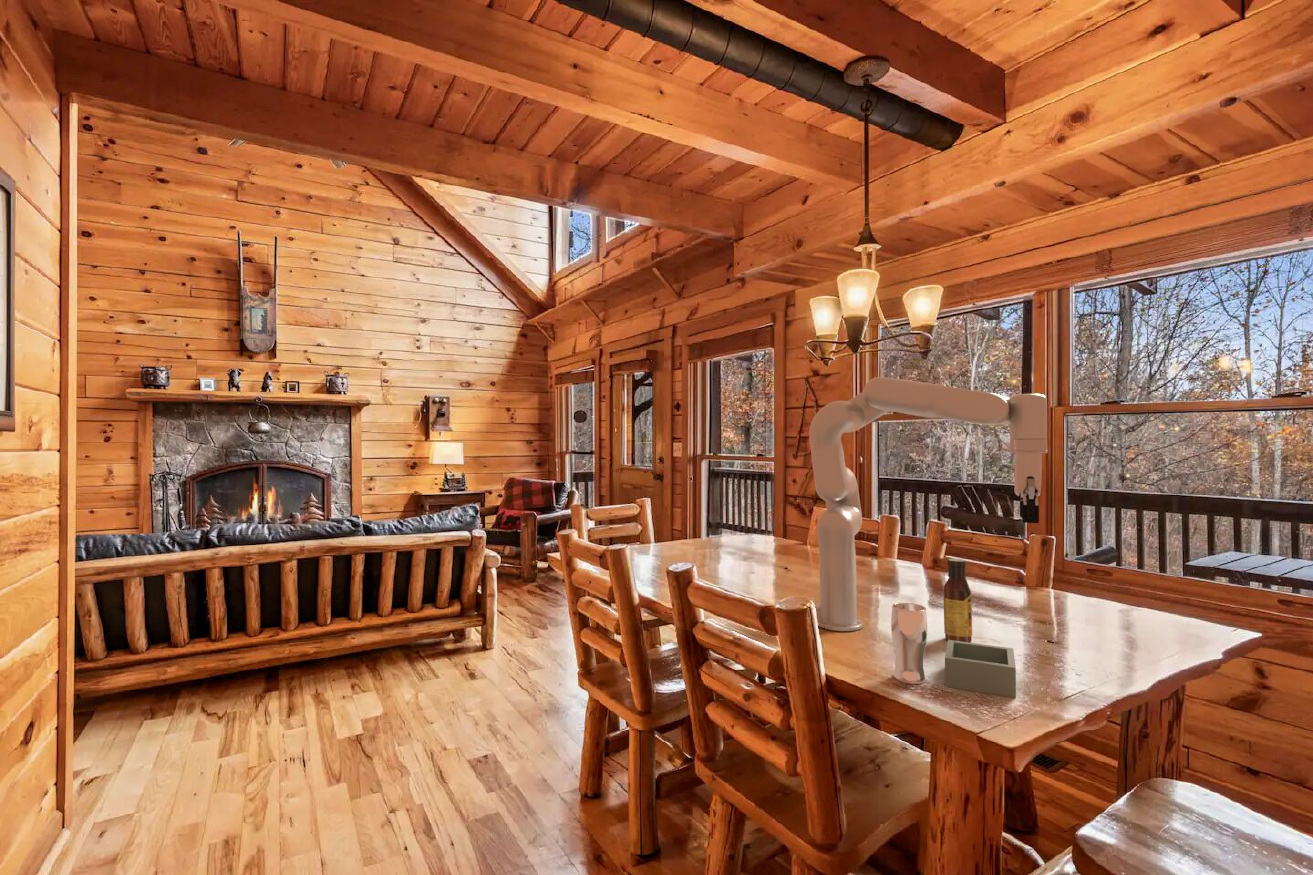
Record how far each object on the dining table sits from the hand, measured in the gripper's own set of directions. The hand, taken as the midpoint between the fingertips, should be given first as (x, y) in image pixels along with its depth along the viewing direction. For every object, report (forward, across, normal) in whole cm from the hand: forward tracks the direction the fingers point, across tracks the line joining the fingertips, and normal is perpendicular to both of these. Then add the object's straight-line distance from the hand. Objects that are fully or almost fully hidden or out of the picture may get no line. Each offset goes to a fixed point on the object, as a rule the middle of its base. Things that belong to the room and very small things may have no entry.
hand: (1029, 520), depth 146 cm
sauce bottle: (+31, -1, -15) cm, 34 cm away
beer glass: (+31, +30, -24) cm, 49 cm away
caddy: (+31, +25, -10) cm, 41 cm away
